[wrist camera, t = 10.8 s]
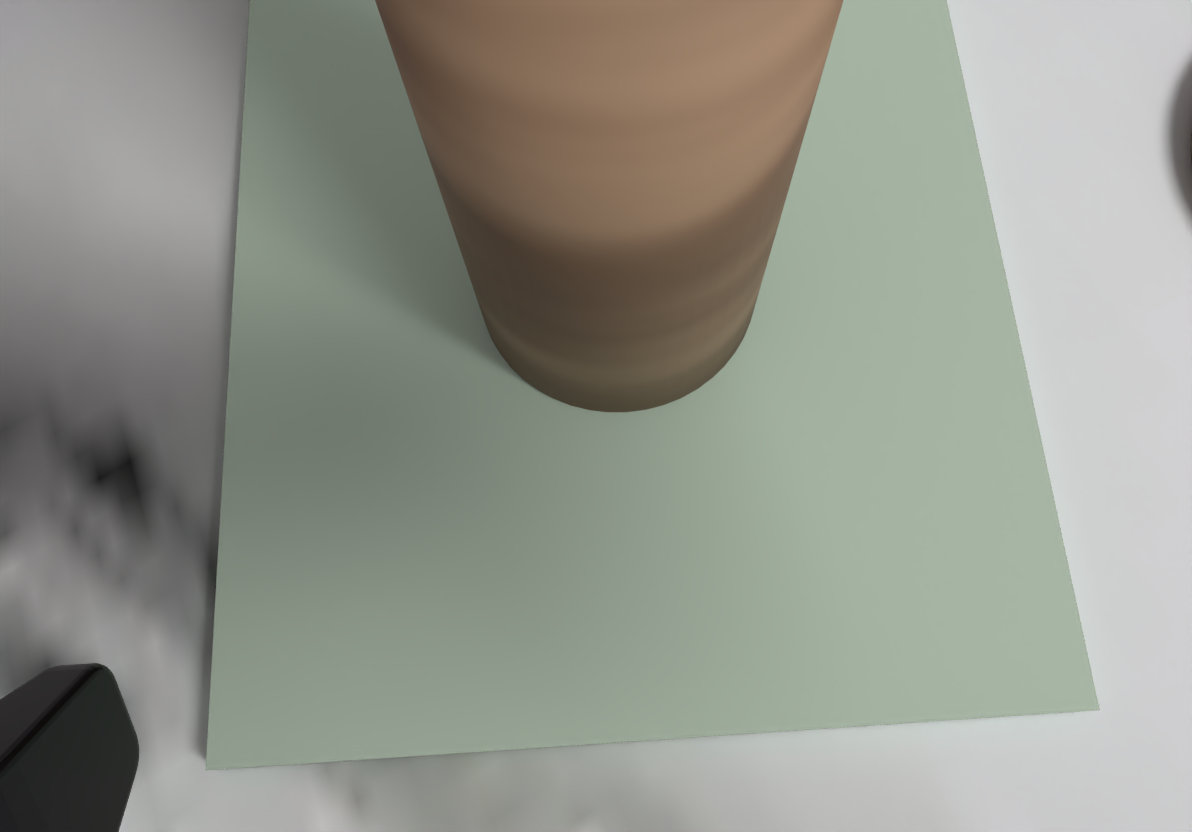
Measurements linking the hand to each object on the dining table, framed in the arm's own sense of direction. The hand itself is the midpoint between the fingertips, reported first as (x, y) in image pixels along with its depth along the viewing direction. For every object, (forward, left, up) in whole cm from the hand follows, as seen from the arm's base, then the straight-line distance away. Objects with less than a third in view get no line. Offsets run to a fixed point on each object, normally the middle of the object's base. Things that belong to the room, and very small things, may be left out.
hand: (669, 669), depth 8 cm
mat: (+7, 0, -8) cm, 11 cm away
